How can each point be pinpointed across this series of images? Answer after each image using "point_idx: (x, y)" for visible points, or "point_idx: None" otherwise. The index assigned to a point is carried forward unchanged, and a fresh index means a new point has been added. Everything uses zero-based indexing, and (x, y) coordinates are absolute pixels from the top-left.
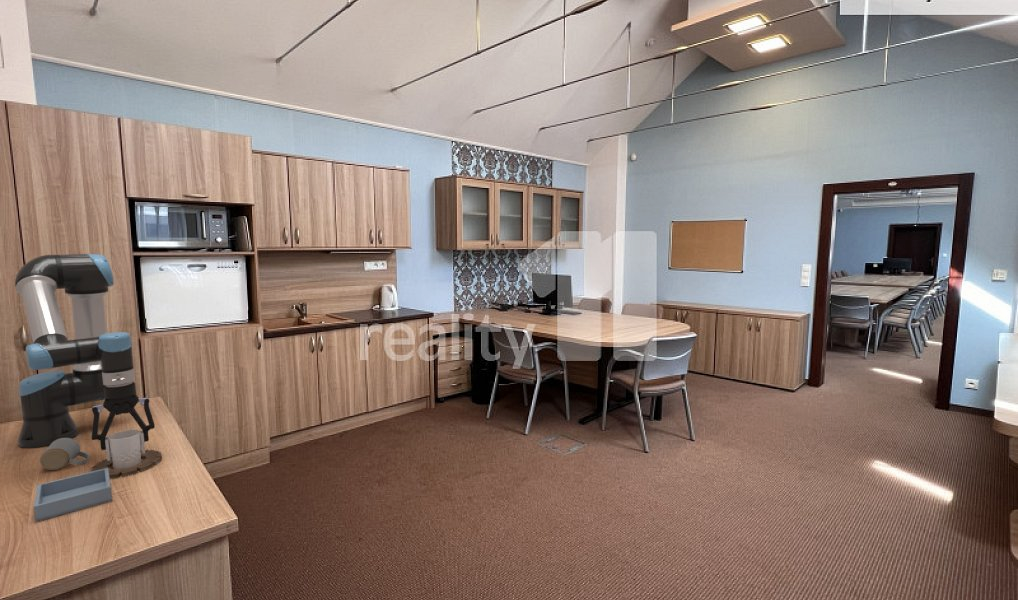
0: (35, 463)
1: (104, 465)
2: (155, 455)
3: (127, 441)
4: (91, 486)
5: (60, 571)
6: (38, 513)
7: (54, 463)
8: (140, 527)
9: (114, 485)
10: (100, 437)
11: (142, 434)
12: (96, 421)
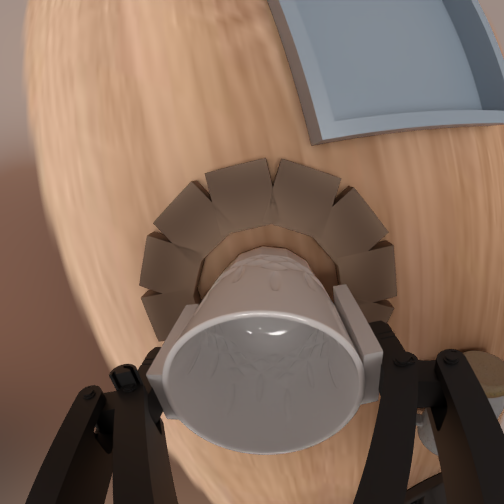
0: None
1: None
2: (166, 313)
3: (230, 301)
4: (364, 99)
5: None
6: None
7: (480, 361)
8: None
9: (279, 84)
10: (416, 366)
11: (154, 368)
12: (494, 469)
